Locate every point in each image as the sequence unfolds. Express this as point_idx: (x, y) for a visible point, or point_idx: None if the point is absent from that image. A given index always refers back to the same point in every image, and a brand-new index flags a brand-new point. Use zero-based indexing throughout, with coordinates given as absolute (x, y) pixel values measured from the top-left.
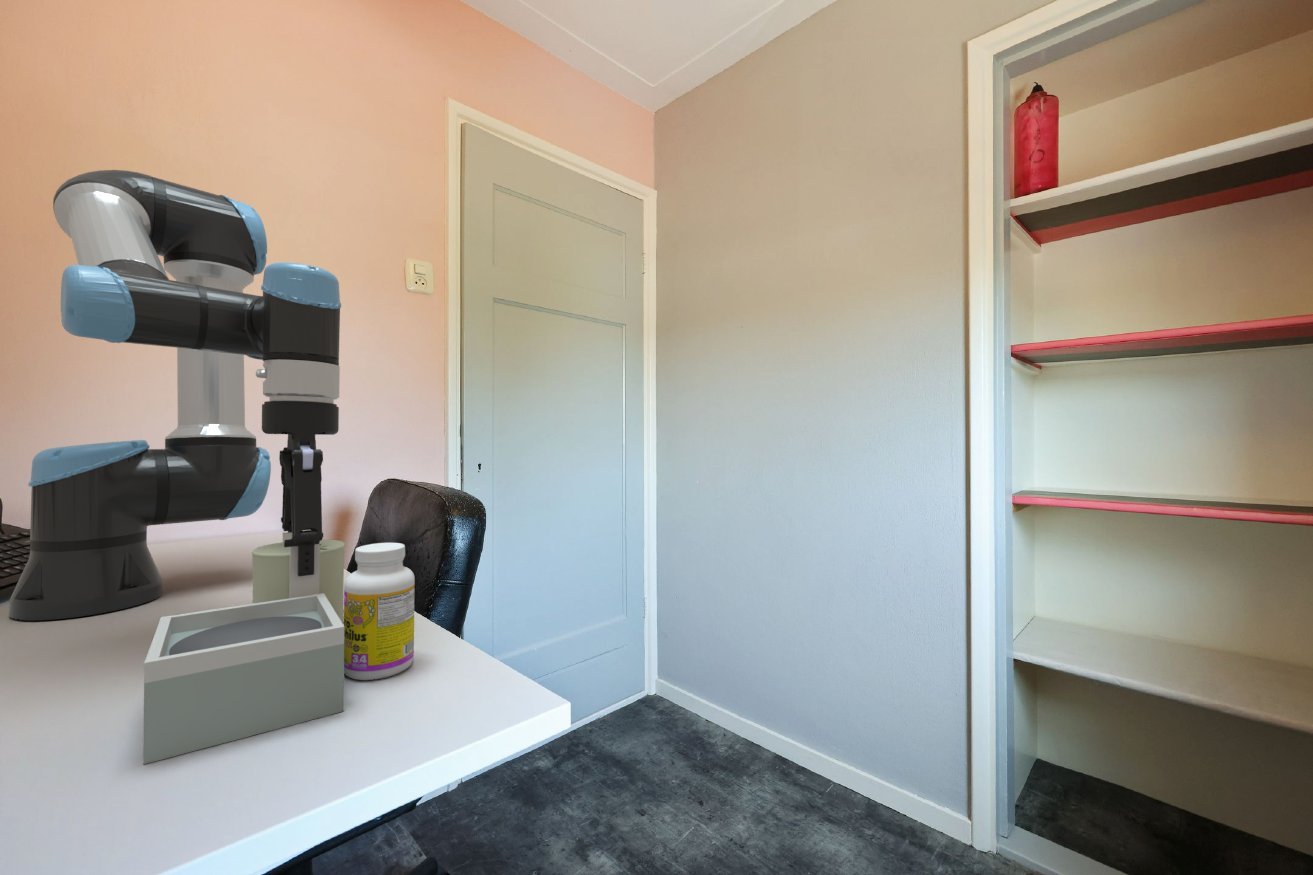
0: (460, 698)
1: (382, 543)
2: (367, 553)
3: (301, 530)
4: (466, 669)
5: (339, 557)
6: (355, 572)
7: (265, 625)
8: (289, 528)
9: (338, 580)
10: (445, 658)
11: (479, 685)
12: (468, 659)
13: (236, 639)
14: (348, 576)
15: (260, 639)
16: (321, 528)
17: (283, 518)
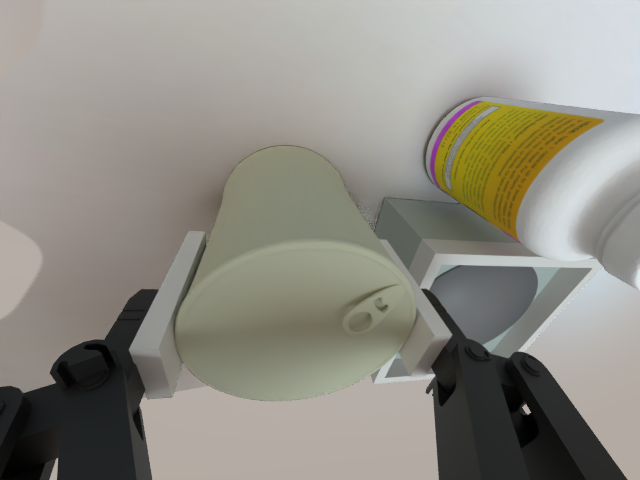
0: (626, 102)
1: None
2: None
3: (136, 368)
4: (590, 41)
5: (380, 245)
6: (581, 254)
7: (444, 303)
8: (137, 403)
9: (360, 215)
10: (530, 44)
11: (636, 60)
12: (572, 11)
13: (465, 323)
14: (559, 259)
15: (545, 321)
16: (558, 387)
17: (54, 461)
